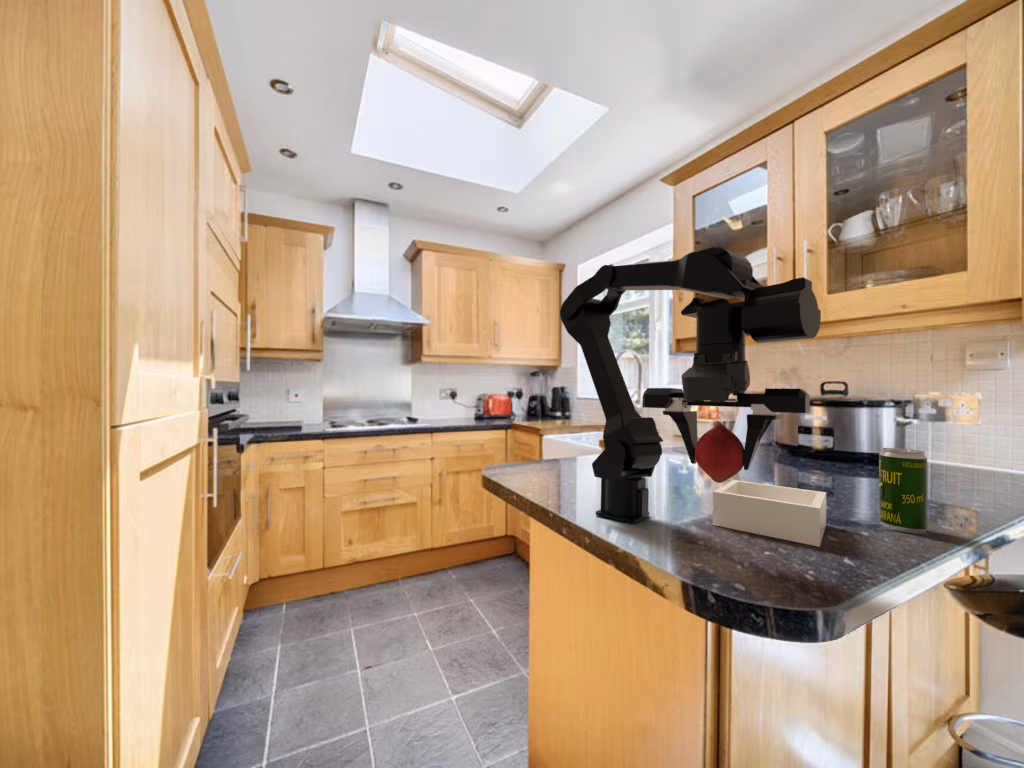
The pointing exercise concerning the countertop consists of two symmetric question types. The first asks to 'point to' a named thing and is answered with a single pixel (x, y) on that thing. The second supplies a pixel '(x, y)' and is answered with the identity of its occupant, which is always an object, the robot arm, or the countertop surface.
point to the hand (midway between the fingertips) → (719, 466)
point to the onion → (719, 453)
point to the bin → (771, 511)
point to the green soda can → (903, 490)
